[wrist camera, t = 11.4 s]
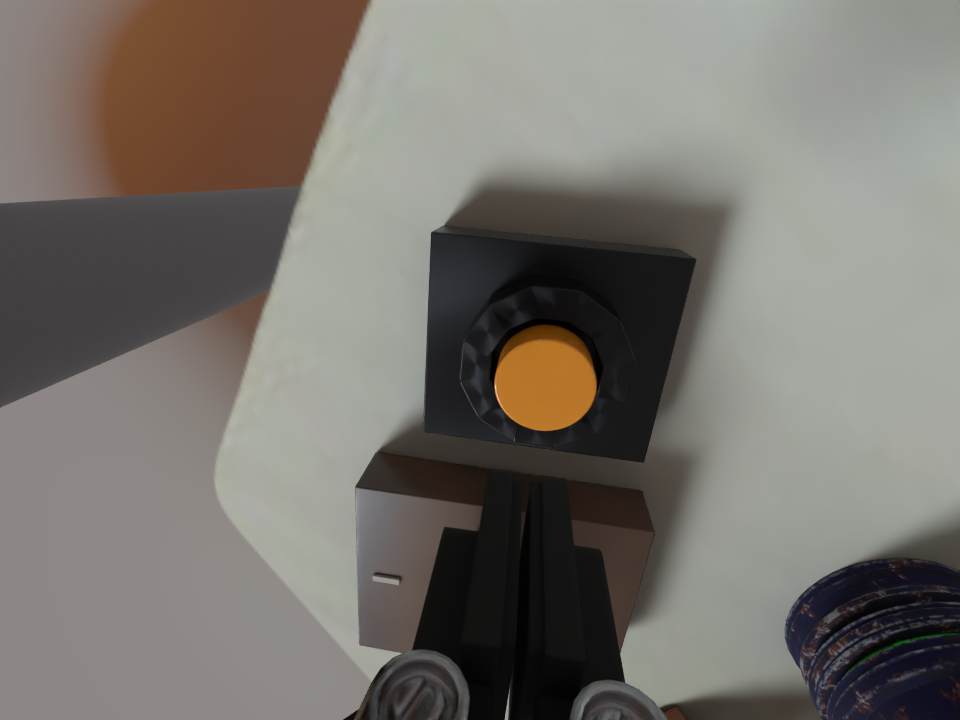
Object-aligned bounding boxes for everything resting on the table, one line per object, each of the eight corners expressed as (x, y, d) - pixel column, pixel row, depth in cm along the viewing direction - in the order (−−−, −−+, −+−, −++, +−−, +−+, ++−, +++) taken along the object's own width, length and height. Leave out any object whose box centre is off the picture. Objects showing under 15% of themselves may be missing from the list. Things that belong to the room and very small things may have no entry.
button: (494, 403, 19) (489, 425, 17) (503, 318, 18) (499, 333, 16) (583, 415, 19) (587, 438, 17) (600, 329, 17) (605, 345, 16)
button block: (433, 409, 24) (412, 453, 20) (442, 225, 20) (419, 237, 16) (635, 437, 23) (653, 488, 19) (680, 249, 19) (713, 268, 16)
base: (376, 607, 29) (357, 655, 26) (375, 442, 25) (353, 478, 22) (601, 646, 28) (607, 701, 25) (645, 480, 23) (659, 524, 21)
